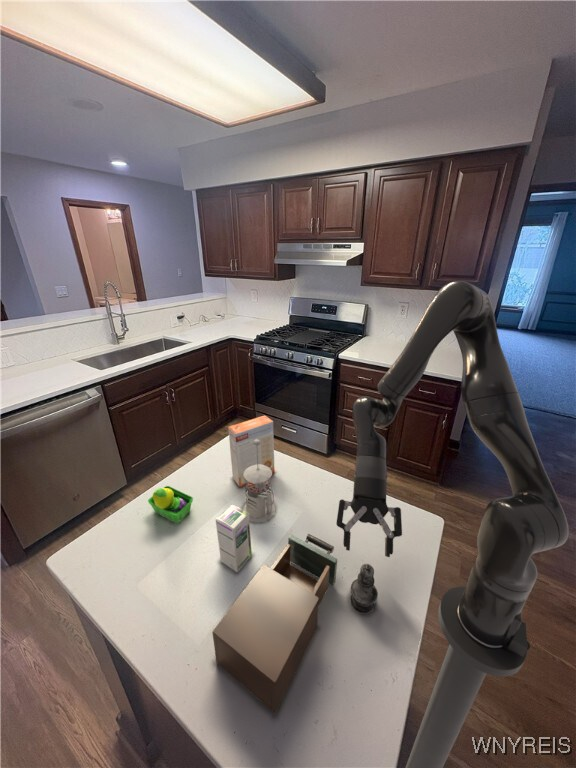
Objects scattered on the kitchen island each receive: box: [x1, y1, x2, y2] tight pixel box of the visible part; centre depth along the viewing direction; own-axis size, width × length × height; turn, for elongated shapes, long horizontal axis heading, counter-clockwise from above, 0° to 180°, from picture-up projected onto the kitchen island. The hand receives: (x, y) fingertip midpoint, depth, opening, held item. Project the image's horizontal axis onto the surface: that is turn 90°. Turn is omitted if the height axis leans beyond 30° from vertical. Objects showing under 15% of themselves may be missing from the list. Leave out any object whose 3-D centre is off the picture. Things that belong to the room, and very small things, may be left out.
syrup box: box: [215, 504, 253, 573], centre depth 77 cm, size 6×6×14 cm
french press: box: [242, 439, 276, 524], centre depth 89 cm, size 10×12×25 cm
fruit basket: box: [147, 485, 194, 524], centre depth 91 cm, size 11×9×11 cm
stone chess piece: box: [350, 563, 379, 615], centre depth 68 cm, size 6×6×12 cm
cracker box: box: [227, 414, 275, 488], centre depth 105 cm, size 14×6×21 cm, turn 124°
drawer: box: [270, 533, 338, 606], centre depth 71 cm, size 19×12×8 cm, turn 148°
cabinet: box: [212, 563, 320, 715], centre depth 60 cm, size 16×14×10 cm
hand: (367, 553), depth 69 cm, fingers open, 8 cm apart
